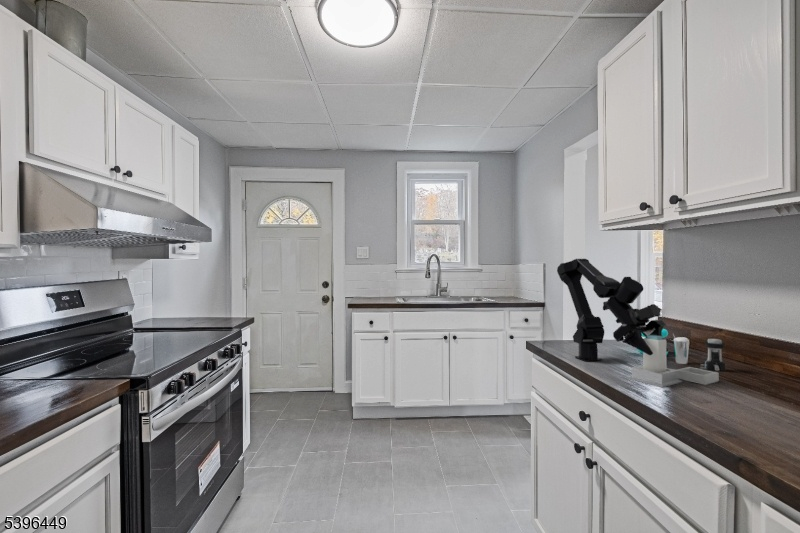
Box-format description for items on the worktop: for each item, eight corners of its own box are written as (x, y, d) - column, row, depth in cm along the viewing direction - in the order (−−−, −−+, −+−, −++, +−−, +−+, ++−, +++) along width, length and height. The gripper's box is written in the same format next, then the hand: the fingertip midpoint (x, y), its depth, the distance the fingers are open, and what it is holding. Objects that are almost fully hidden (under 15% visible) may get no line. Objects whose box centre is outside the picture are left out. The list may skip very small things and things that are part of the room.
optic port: (628, 378, 123) (628, 367, 123) (648, 374, 127) (647, 363, 127) (662, 387, 114) (662, 375, 114) (682, 382, 118) (682, 370, 118)
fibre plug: (643, 377, 121) (643, 335, 121) (651, 376, 123) (650, 334, 123) (658, 381, 117) (658, 337, 117) (666, 379, 119) (666, 336, 119)
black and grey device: (704, 371, 130) (704, 340, 130) (696, 367, 135) (696, 337, 135) (728, 372, 128) (728, 341, 128) (720, 368, 133) (719, 338, 133)
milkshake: (677, 360, 144) (677, 332, 144) (692, 364, 139) (692, 335, 139) (668, 361, 143) (668, 333, 143) (683, 365, 138) (683, 336, 138)
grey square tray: (675, 377, 123) (675, 369, 123) (689, 374, 126) (689, 366, 126) (705, 384, 116) (705, 376, 116) (718, 381, 119) (718, 372, 119)
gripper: (622, 297, 119) (660, 340, 110) (659, 294, 128) (697, 334, 118) (598, 320, 126) (632, 362, 117) (635, 316, 135) (669, 355, 125)
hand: (659, 353), depth 119 cm, fingers open, 7 cm apart
